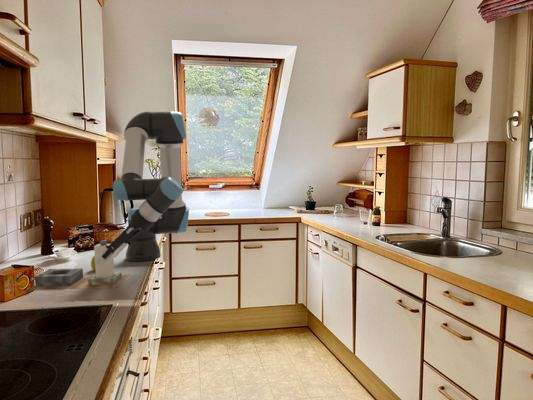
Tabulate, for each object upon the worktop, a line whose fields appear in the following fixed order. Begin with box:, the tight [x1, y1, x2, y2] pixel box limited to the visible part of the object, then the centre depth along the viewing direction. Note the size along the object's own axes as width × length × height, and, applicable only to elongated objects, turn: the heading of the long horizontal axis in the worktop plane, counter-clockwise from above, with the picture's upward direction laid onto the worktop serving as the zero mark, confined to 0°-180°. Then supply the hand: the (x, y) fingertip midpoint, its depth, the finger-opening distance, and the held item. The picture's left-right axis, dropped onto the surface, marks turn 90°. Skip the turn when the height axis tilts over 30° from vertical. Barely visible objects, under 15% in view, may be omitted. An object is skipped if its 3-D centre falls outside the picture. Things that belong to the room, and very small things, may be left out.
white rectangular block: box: [93, 239, 115, 278], centre depth 148 cm, size 5×4×14 cm
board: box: [27, 267, 133, 294], centre depth 148 cm, size 30×16×5 cm, turn 90°
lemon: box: [90, 255, 96, 272], centre depth 164 cm, size 6×6×8 cm
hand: (105, 259), depth 147 cm, fingers open, 13 cm apart
